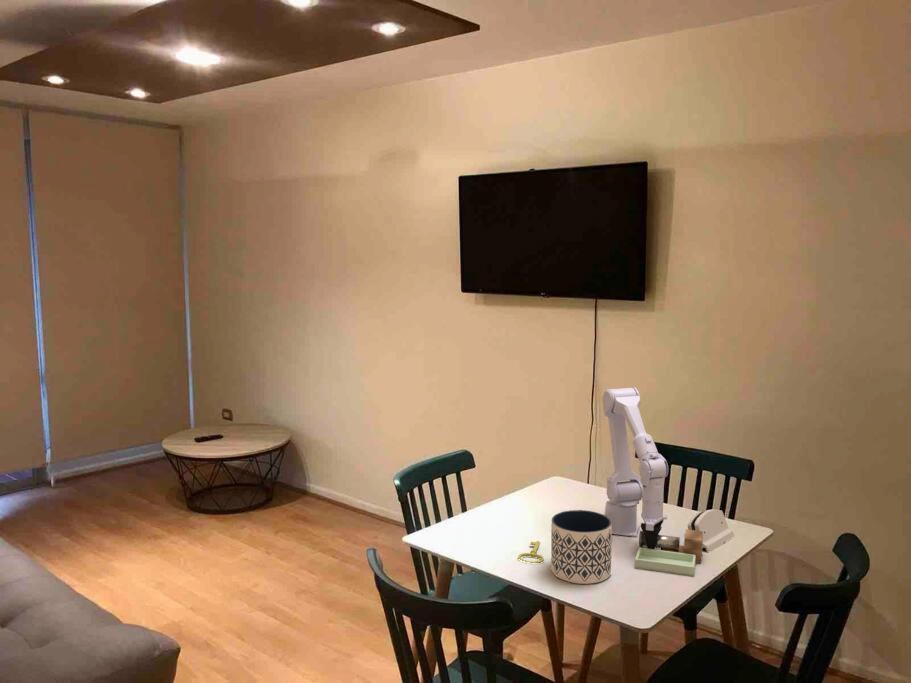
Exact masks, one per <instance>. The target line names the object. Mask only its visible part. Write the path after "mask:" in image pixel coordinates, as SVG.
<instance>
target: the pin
mask: <svg viewBox="0 0 911 683" xmlns="http://www.w3.org/2000/svg"><path fill="white" fill-rule="evenodd" d="M680 538H681V537H679V536H671V535H664V534H663V535H662V534H658V537H657V542H656V546H655V549H661V548H664V549H672V550H679V545H681V544H680ZM644 547H647V546H646V540H645V536H644V533H643V531H642V530H640V531H639V534H638V548H644Z"/></svg>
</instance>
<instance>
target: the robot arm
mask: <svg viewBox="0 0 911 683" xmlns="http://www.w3.org/2000/svg"><path fill="white" fill-rule="evenodd" d="M601 400H602V406H603V408H602V409H603V413H604V414H603V415H604V416H605V417H607V420H608V427H609V436H610V444H611V450H612V460H613V467H614V471H613V472H612V473H611V474H610V475H609V476H608V477H607V479H606V497H607V499H608V500H607V501H606V503H605V508H604V515H605V516H607V517H608V518H609V519H610V520H611V522H612V535H618V536H628V537H637V536H638V532H639V529H640V528H641V531H643V533H644V536H645V540H646V546H645V547H646V548H647V549H654V550H656V547H655V546H656V542H657V537H658V535H660V532H661V530H662V527H663V526H662V524H663V523H664V520H665V521H666V520H668V514H664V491H665V490H664V487H665V486H664V485H665V480H664V479H665V478H667V477H668V474H669V465H668V461H667V460H666V458H665V457H664V456H663V455H662V454H661V453H659V452H658V449H657V446H656V443H655V441H654V438H653V436H652V435H650V434H648V433H647V431H646V428H645V425H644V421H643V419H642V415H641V412H640V406H641V395H640V391H639V390H638V388H636V387H634V386H633V387H625V388H624V387H623V388H611V389H610V388H606V389H605V390H604V392H603V395H602V398H601ZM626 423H627V424H626ZM627 425H628V427H629V429H630V431H631V433H632V436H633V437H634V438H633V440H632V445H633V447H634V450H635V453H636V456H637V458H638V461H639V466H638V471H639V475H638V474H637V473H636V472H634V471H633V470H632V463H631V454H630V447H629V440H628V432H627V431H628V430H627ZM640 501H641V503H642V504H641V506H642V507H641V509H642V510H641V513H640V514H641V515H640V516H641V519H642V520H643V522H641V524H640V526H639V525H637V524H638V523H637V521H638V520H637V517H638V516H637V515H638V512H637V511H638V505H640Z"/></svg>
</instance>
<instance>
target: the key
mask: <svg viewBox="0 0 911 683" xmlns="http://www.w3.org/2000/svg"><path fill="white" fill-rule="evenodd" d="M529 544H530V546H533V549H532V550H530V552H523V553H520V554H519V555H518V556H517V560H518V559H520V560H522V561H525V562H530V563H541V562H543V561H544V562H545V558H544V556H543V555H540V554H538V552H537V551H538V549H539V548H540V544H541V542H540V541H539V540H536V541H530V543H529ZM522 556H531V557H530V558H532V557H537V558H536V559H538V558H541V559H538V560H534V561H533V560H526V559H524V558H521V557H522ZM544 562H543V563H544ZM541 564H542V563H541Z"/></svg>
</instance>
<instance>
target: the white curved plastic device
mask: <svg viewBox="0 0 911 683" xmlns="http://www.w3.org/2000/svg"><path fill="white" fill-rule="evenodd" d="M687 529H688V530H696V531H703V539H702V549H705V551H706V553H711V552H712V551H714V550H716V549H717V548H719V547H720V545H721V544H722V543H724V542H726V541H727V540H729V539H730V540H732V539H733V538H732V537H734V536H735V534H734V531H733V530H732V529H731V528H730V527H729V526H728V523H727V520H726V517H725V514H724V512H723V510H720V509H714V508H713V509H706V510H703V511H699V512H697V513H695V514H694V515H692V517H691V518H690V519H689V521H688V523H687ZM731 538H732V539H731ZM734 538H735V537H734ZM730 540H729V541H730ZM727 542H728V541H727ZM727 542H726V543H727ZM724 544H725V543H724ZM722 545H723V544H722ZM722 545H721V546H722ZM718 546H719V547H718ZM715 548H716V549H715ZM710 551H711V552H710Z"/></svg>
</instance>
